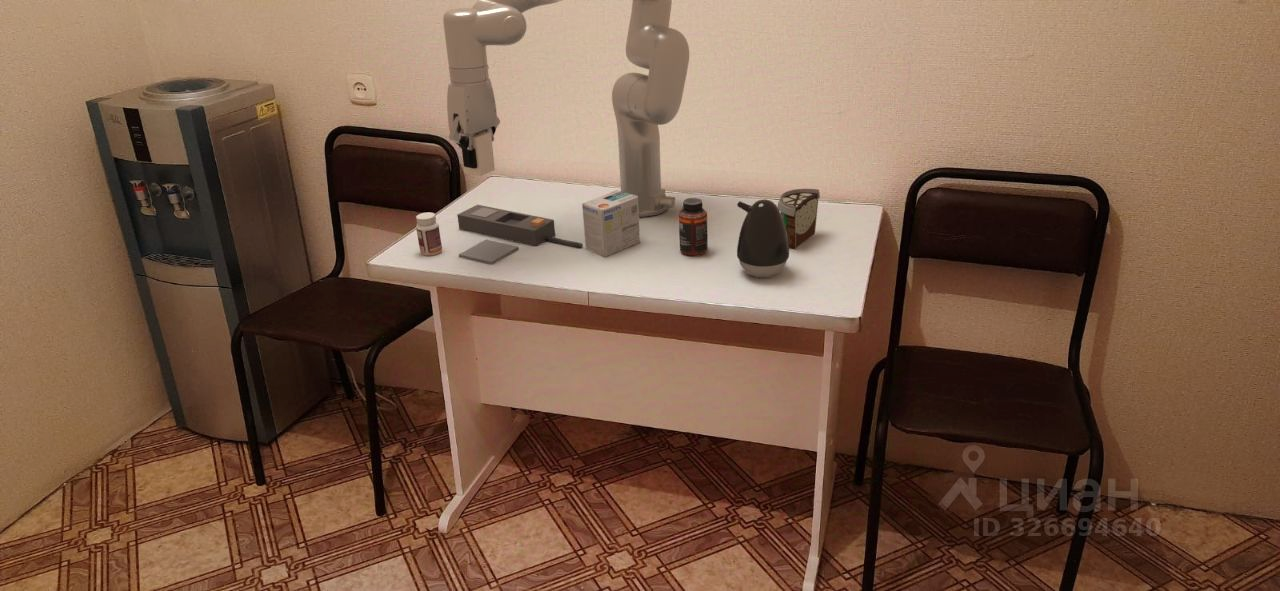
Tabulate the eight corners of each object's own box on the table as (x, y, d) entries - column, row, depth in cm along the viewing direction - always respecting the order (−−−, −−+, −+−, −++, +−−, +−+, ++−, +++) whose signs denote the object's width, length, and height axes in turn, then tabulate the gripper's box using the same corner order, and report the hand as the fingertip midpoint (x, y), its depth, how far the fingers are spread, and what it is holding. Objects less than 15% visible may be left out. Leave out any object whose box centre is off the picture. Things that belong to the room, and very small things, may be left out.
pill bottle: (445, 247, 197) (439, 211, 194) (438, 256, 193) (433, 219, 189) (424, 247, 198) (418, 211, 194) (417, 256, 194) (411, 219, 190)
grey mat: (518, 249, 195) (518, 246, 194) (491, 264, 188) (491, 262, 188) (486, 241, 199) (486, 239, 199) (459, 256, 192) (458, 254, 192)
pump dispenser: (744, 258, 186) (745, 188, 179) (793, 265, 182) (796, 193, 175) (729, 279, 177) (729, 206, 170) (781, 286, 174) (783, 212, 167)
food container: (792, 227, 200) (794, 184, 195) (817, 232, 197) (820, 188, 192) (765, 246, 191) (767, 201, 186) (792, 252, 188) (794, 207, 183)
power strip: (591, 242, 196) (590, 223, 194) (573, 254, 191) (571, 234, 189) (479, 218, 212) (476, 201, 210) (459, 229, 206) (456, 211, 204)
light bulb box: (620, 234, 200) (617, 188, 195) (641, 242, 195) (639, 195, 191) (584, 249, 193) (580, 202, 188) (605, 258, 189) (602, 209, 184)
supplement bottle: (712, 248, 191) (712, 198, 186) (699, 259, 186) (699, 207, 181) (687, 243, 194) (686, 194, 189) (674, 254, 189) (673, 203, 184)
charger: (494, 170, 187) (490, 131, 183) (480, 176, 183) (476, 137, 180) (478, 166, 189) (474, 129, 185) (464, 172, 185) (459, 134, 182)
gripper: (482, 64, 185) (491, 150, 194) (424, 81, 173) (436, 172, 181) (511, 67, 182) (519, 155, 190) (454, 85, 169) (465, 178, 177)
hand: (478, 162), depth 185 cm, fingers closed on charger, 4 cm apart
